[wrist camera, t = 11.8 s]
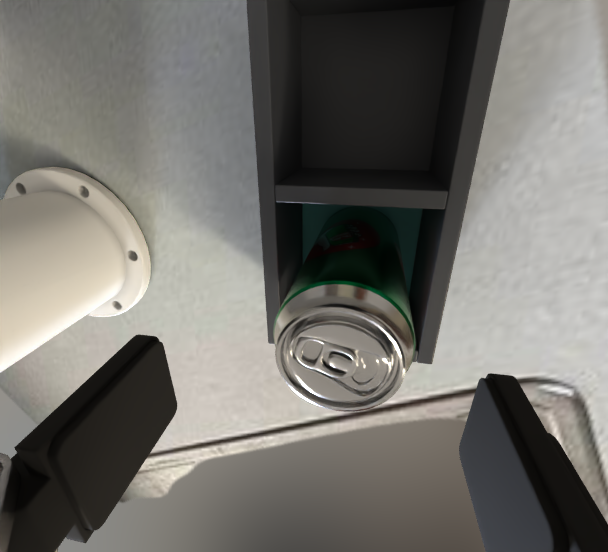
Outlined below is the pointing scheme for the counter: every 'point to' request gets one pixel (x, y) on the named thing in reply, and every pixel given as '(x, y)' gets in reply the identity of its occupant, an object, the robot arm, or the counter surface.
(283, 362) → the soda can
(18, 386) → the counter surface
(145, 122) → the counter surface
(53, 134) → the counter surface
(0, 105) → the counter surface
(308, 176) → the two-compartment grey tray
